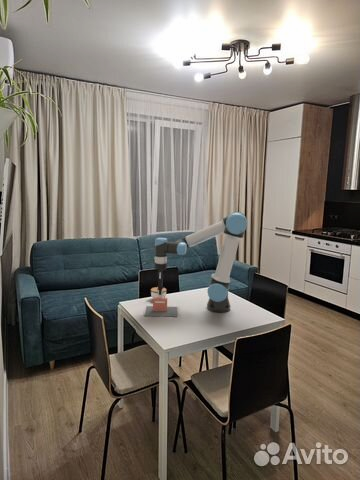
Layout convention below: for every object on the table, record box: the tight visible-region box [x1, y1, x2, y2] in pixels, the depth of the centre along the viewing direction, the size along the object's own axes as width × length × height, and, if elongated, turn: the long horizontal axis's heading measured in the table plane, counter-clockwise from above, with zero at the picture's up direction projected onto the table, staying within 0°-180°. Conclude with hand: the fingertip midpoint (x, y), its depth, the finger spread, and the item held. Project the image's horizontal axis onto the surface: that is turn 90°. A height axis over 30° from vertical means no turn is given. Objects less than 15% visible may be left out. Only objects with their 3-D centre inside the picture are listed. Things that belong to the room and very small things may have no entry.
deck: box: [152, 297, 168, 311], centre depth 204 cm, size 2×9×8 cm, turn 91°
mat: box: [143, 305, 178, 318], centre depth 204 cm, size 20×16×1 cm
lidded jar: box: [150, 286, 167, 299], centre depth 225 cm, size 11×11×9 cm
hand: (160, 299), depth 205 cm, fingers closed
